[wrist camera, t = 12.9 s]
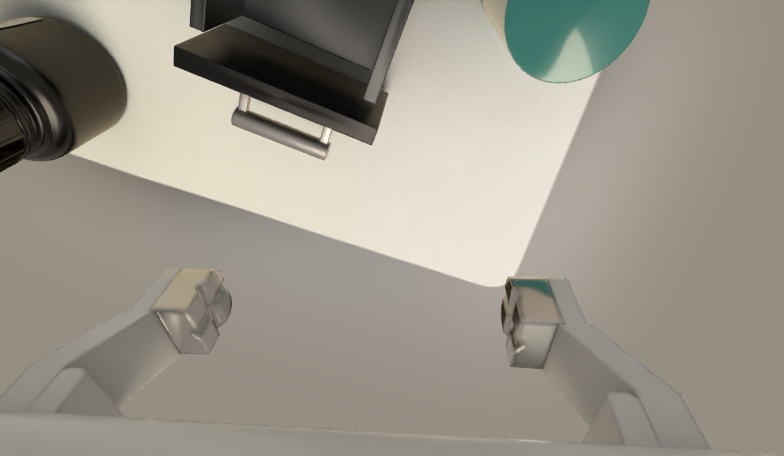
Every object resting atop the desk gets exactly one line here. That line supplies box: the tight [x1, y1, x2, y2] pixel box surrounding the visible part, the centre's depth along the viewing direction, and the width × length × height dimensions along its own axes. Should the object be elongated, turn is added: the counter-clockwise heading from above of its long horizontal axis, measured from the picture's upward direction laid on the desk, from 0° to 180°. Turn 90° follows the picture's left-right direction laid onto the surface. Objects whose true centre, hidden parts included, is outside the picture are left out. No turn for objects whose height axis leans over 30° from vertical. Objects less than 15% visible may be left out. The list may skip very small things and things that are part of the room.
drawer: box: [174, 0, 414, 160], centre depth 23 cm, size 19×12×7 cm, turn 158°
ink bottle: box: [0, 16, 126, 172], centre depth 27 cm, size 10×9×12 cm
